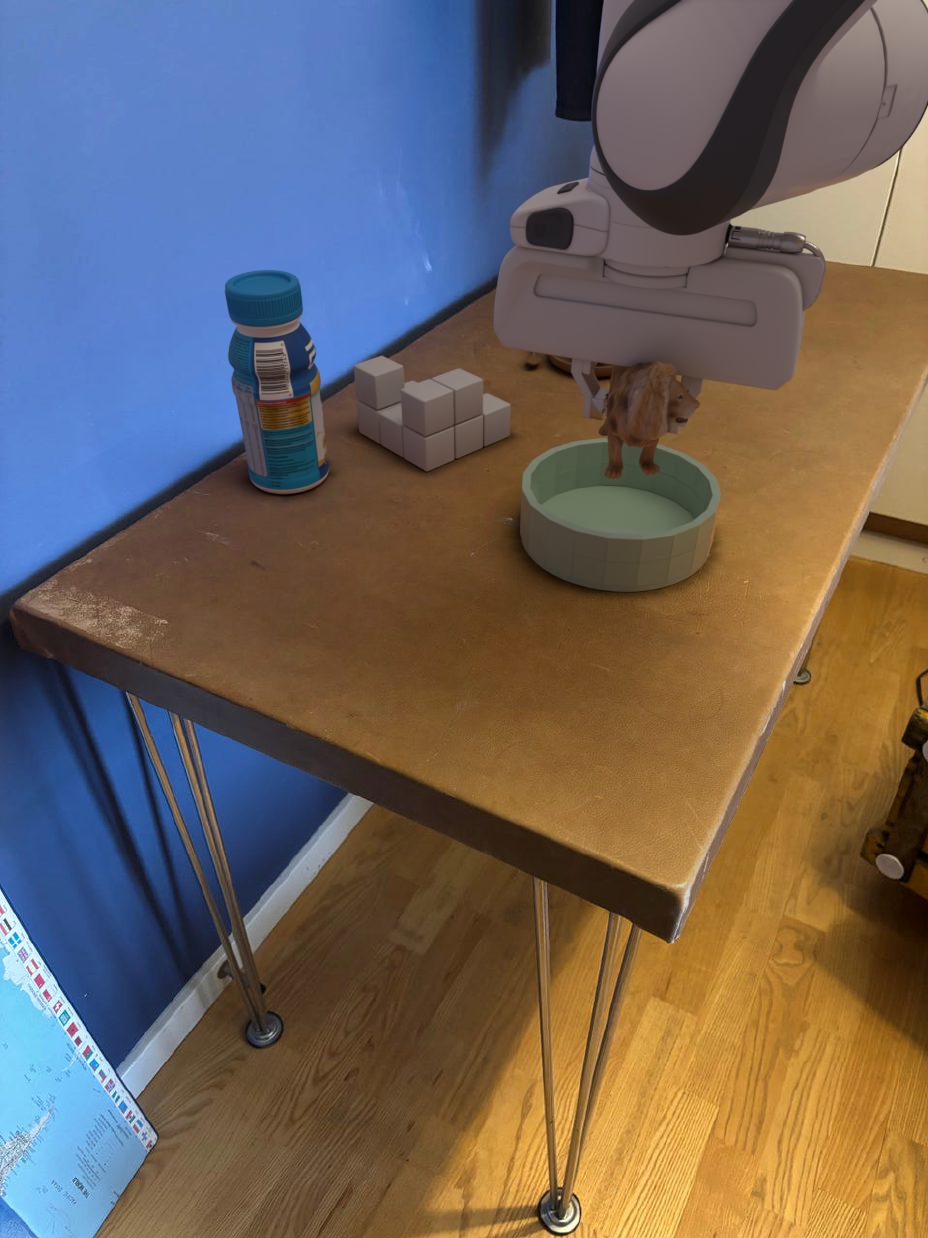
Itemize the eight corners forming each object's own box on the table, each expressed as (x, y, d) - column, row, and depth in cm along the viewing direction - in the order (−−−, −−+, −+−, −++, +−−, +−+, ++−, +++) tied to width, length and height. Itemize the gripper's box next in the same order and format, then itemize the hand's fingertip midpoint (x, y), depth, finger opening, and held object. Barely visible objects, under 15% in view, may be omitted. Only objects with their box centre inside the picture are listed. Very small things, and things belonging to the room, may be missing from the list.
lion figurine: (691, 502, 61) (710, 375, 55) (611, 506, 61) (623, 379, 55) (645, 403, 72) (657, 289, 66) (578, 407, 72) (584, 293, 66)
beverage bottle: (231, 483, 93) (193, 286, 81) (284, 449, 99) (256, 260, 86) (296, 505, 90) (267, 303, 77) (347, 468, 95) (328, 274, 83)
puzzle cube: (510, 436, 101) (512, 367, 96) (426, 472, 95) (424, 401, 90) (440, 400, 108) (439, 335, 103) (358, 432, 102) (352, 364, 97)
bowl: (726, 508, 89) (736, 457, 85) (687, 611, 76) (697, 557, 73) (555, 473, 94) (557, 425, 91) (492, 565, 82) (492, 512, 78)
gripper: (838, 222, 55) (787, 429, 64) (520, 188, 61) (513, 382, 70) (828, 252, 51) (775, 471, 59) (486, 213, 57) (483, 416, 65)
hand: (631, 422), depth 65 cm, fingers closed on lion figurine, 4 cm apart
